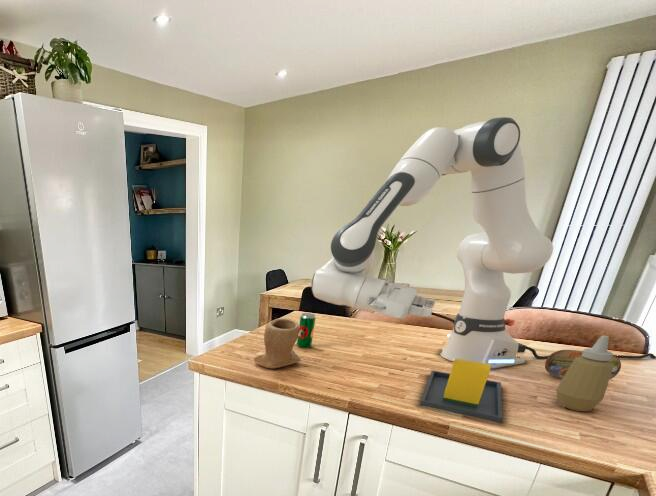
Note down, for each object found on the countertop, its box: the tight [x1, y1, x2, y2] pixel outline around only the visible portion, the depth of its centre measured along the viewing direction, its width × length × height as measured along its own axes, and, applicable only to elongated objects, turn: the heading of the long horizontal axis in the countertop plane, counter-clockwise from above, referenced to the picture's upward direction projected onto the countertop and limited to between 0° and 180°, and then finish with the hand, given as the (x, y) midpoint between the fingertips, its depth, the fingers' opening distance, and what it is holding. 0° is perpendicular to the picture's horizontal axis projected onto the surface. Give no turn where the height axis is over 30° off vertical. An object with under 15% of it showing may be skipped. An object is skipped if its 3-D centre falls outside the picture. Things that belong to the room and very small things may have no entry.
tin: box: [544, 349, 622, 381], centre depth 111 cm, size 15×3×8 cm, turn 66°
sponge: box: [443, 359, 491, 407], centre depth 99 cm, size 4×7×10 cm, turn 52°
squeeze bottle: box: [555, 335, 614, 412], centre depth 94 cm, size 8×8×18 cm
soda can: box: [296, 312, 317, 349], centre depth 144 cm, size 5×5×12 cm
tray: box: [419, 370, 503, 424], centre depth 103 cm, size 26×16×2 cm, turn 141°
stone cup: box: [253, 317, 301, 369], centre depth 126 cm, size 15×12×15 cm
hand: (432, 308), depth 99 cm, fingers open, 8 cm apart
